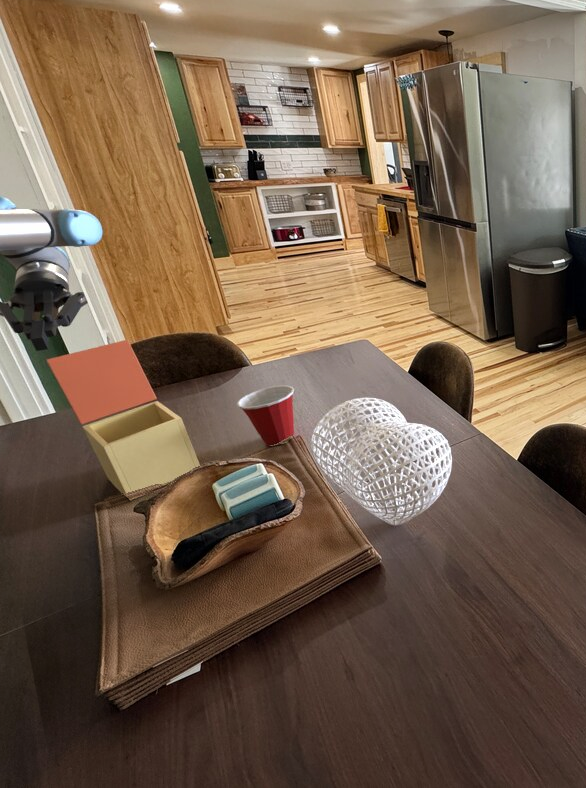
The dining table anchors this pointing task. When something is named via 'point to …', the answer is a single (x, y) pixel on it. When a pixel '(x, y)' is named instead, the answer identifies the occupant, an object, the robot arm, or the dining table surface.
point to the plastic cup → (270, 412)
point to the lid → (102, 380)
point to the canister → (142, 447)
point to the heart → (382, 459)
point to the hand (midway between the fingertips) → (39, 344)
